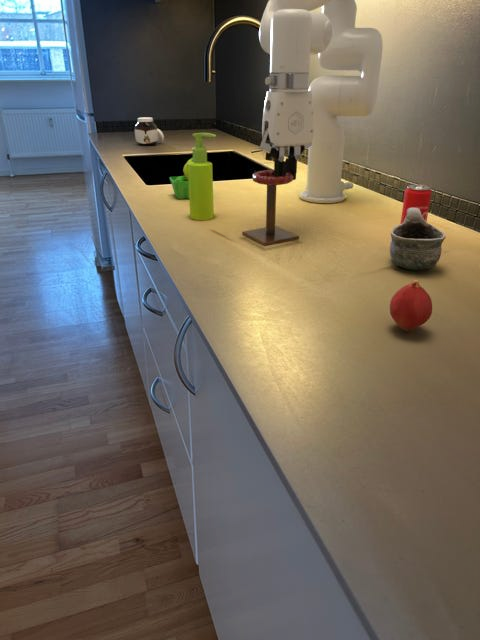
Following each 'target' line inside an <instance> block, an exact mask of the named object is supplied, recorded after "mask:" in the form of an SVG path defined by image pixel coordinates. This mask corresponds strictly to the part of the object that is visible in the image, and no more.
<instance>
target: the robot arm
mask: <svg viewBox="0 0 480 640" xmlns="http://www.w3.org/2000/svg"><path fill="white" fill-rule="evenodd" d="M319 8H321V11H318V10H317V11H316V9H319ZM357 10H358V7H357V2H356V0H268V1H267V3H266V6H265V9H264V11H263V14H262V17H261V20H260V24H259V31H258V38H259V43H260V44H259V45H260V47H261V48H262V50H263V51H264V52H265V53H266V54H269V55H270V56H269V57H270V58H269V63H270V64H269V76H267V77H265V78H264V84H265V85H266V86H268V88H269V90H268V91H266V95H265V100H264V105H263V114H262V122H261V123H262V126H261V138H262V139H261V143H260V145H259V149H260V150H261V151H263V152H265V153H268V155H269V156H270V157H271V160H272V161H273V164H274V165H273V170H274V177H281V176H286V172H289V173H291V174H292V175H293V181H296V180H297V173H298V172H297V171H298V161H299V160H300V159H301V156H302V154H303V153H304V151H305V150H307V149H308V151H307V152H308V155H307V171H306V187H305V190H303V191H301V193H300V199H301V200H303V201H305V202H310V203H315V204H336V203H340V202H343V201H345V200H346V194H345V193H344V191H345V190H353V188H354V183H353V182H352V181H348V182H344V181H342V174H343V164H344V163H343V162H344V152H345V151H344V150H345V140H346V133H345V129H344V127H343V124H342V123H341V122H340V119H338V117H367V116H370V115H371V114H372V113H373V112H374V110H375V107H376V103H377V98H378V90H379V81H380V73H381V65H382V60H383V59H382V58H383V47H384V46H383V45H384V44H383V37H382V33H381V31H380V30H378V29H377V28H374V27H356V20H357V19H356V18H357ZM311 55H312V56H315V55H318V57H317V58H318V64H319V66H320V68H323V69H324V70H329V71H358V72H360V75H333V74H332V75H330V74H329V75H321V76H318V77H316V78H314V79H313V80H312V81H311V83H310V84H309V80H310V79H309V78H310V63H311ZM286 147H287V157H286V158H285V151H286V149H285V148H286Z"/></svg>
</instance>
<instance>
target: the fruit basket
mask: <svg viewBox="0 0 480 640" xmlns="http://www.w3.org/2000/svg"><path fill="white" fill-rule="evenodd" d="M190 162H193V157H191V158H190V159H188V160H187V162H186V163H185V164H184V166H183V169H182V171H183V175H180V176H169V181H170V183H171V186H172V190H173V193H174V196H175V197H176V198H177V199H180V200H183V199H189V179H188V163H190Z"/></svg>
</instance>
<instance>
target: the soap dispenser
mask: <svg viewBox="0 0 480 640" xmlns="http://www.w3.org/2000/svg"><path fill="white" fill-rule="evenodd" d="M191 135H192V138H195V146H194V147H192V149H191V150H192V158H193V162H190V163H188V179H189V198H188V199H189V217H190V219H192V220H193V221H208V220H212V219H213V218H214V214H215V213H214V178H213V177H214V176H213V173H214V172H213V163H212V162H211V161H208V150H207V147H205V146H204V137H205V138H206V137H207V138H212V139H213V138H216V137H217V135H216V134H214V133H210V132H194V133H192V134H191Z"/></svg>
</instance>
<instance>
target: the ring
mask: <svg viewBox="0 0 480 640" xmlns="http://www.w3.org/2000/svg"><path fill="white" fill-rule="evenodd" d="M251 177H252V181H253V182H254V183H257V184H258V185H266V186H267V185H277V186H281V185H288V184H290V183H292V182H293V181H294V180H293V175H292V174H291V173H289V172H286V176H281V177H274V169H264V170H259V171H256V172H254V173H252V176H251Z"/></svg>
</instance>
